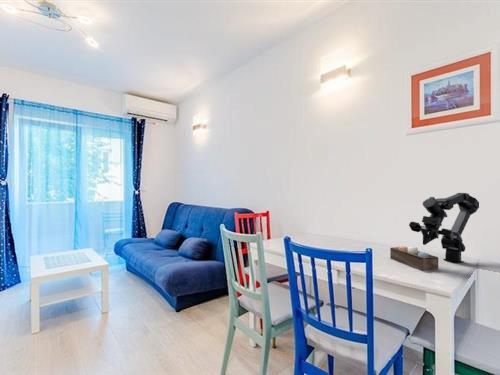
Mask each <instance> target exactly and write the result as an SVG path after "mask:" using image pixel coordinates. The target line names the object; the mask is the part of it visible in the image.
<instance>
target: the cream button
mask: <svg viewBox="0 0 500 375" xmlns="http://www.w3.org/2000/svg"><path fill="white" fill-rule="evenodd" d="M407 248H408V252H409V253H412V254H413V253H418V249H419V248H418V247H416V246H407Z"/></svg>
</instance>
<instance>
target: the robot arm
mask: <svg viewBox="0 0 500 375" xmlns="http://www.w3.org/2000/svg"><path fill="white" fill-rule="evenodd" d="M479 203H480V202H479V201H478V199H477V198H476V197H474V196H471V195H470V194H469V193H467V192H457V193H455V194H453V195H450V196H448V197H444V198H443V197H442V198H436V197H435V196H430V197H428V198H426V199H425V200H424V201H423V202H422V206H423V207H424V209H425V210H426V211H427V213H429V214H430V216H426V215H423V217H422V220H421V223H423V225H420V223H419V222H416V221H410V222H409V223H408V226H409V228H410V230H411V231H413V232H416V233H421V234H422V245H423V246H426V245H428V244H429V243H430V242H432V241H434V240H436V239H439V238H440V237H439V236H440V235H441V239H440V243H441V248H442V249H445V258H443V260H444V261H446V262H450V263H453V264H457V263H458V264H459V263H460V264H461V263H465V261H464V260H462V252H463V253H465V251H466V246H465V244H464V243H463V238H462V234H463V232H464V230H465V228H466V226H467V223H468V222H469V219H470V217H471V215H473V214H475V213H476V212H477V211H479V210H478V209H479V208H480V207H479ZM455 205H458V209H459V212H458V214H457V216H456V219H455V221H454V223H453V225H452V227H451V228H450V229H449V228H441V227H442V225H443V224H442V223H443V220H444V219H445V218H448V214H447V212H446V211H450V210H452V209H453V208H454V206H455ZM440 228H441V230H440Z"/></svg>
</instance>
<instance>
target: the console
mask: <svg viewBox="0 0 500 375" xmlns="http://www.w3.org/2000/svg"><path fill="white" fill-rule="evenodd" d="M419 252H420V251H418V253H419ZM389 253H390V255H389V256H390V257H389V258H390V259H391V260H394V261H397V262H398V263H400V264H404V265H406V266H408V267H412V268H414V269H416V270H419V271H439V256H436V255H432V254H429V257H421V256H418V253H413V254H412V253H409V252H408V247H407V250H399V249H398V246H397V247H390V252H389Z"/></svg>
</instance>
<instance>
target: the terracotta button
mask: <svg viewBox="0 0 500 375" xmlns="http://www.w3.org/2000/svg"><path fill="white" fill-rule="evenodd" d="M397 247H398V249H399V250H407V248H408V246H403V245H402V246H401V245H400V246H397Z"/></svg>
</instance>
